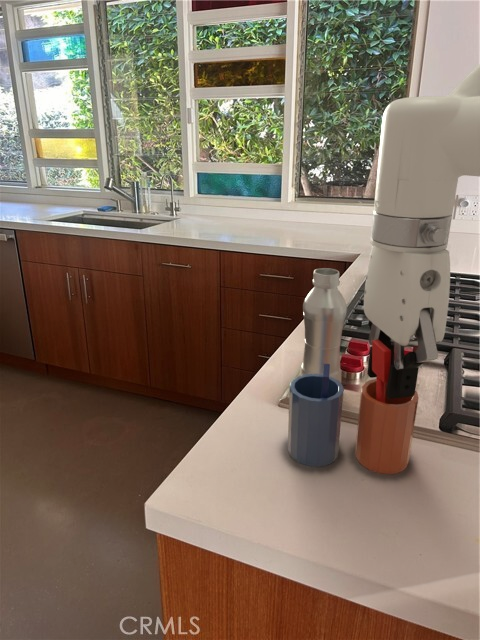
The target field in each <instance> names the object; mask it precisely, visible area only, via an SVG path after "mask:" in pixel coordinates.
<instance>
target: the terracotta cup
mask: <svg viewBox="0 0 480 640" xmlns="http://www.w3.org/2000/svg"><path fill="white" fill-rule="evenodd" d="M387 385H388V382H385V403H383V402H379V401H377V400H376V378H372V379H370V380H368V381H365V382H364V383H363V384H362V386H361V389H360V398H359V409H358V410H359V411H358V417H357V431H356V439H355V447H354V452H355V454H354V455H355V458H356V460H357V461H358V463H359V464H360V465H361V466H362V467H364V468H365V469H367V470H369V471H371V472H374V473H377V474H381V475H395V474H399V473H401V472H403V471H404V470H406V468H407V467H408V465H409V461H410V456H411V449H412V444H413V435H414V429H415V423H416V417H417V410H418V405H419V404H418V403H419V398H420V397H419V393H418V392H417V390H416V389H415V394H414V395H413V396H411V397H403V398H395V399H389V398H388V396H387V395H386V393H387Z"/></svg>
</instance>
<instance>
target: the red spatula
mask: <svg viewBox="0 0 480 640" xmlns="http://www.w3.org/2000/svg"><path fill="white" fill-rule="evenodd" d="M371 346H372V371H373V372H374V373H375V374H376V375H377V377H375V379H376V400H377V401H379V402H383V403H385V382H388V377H389V369H390V366H391V350H390V349H389V348H388V347H386V346H385V345H384V344H383V343H382V342H381V341H380V340H379V339H377V340H372V345H371Z"/></svg>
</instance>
